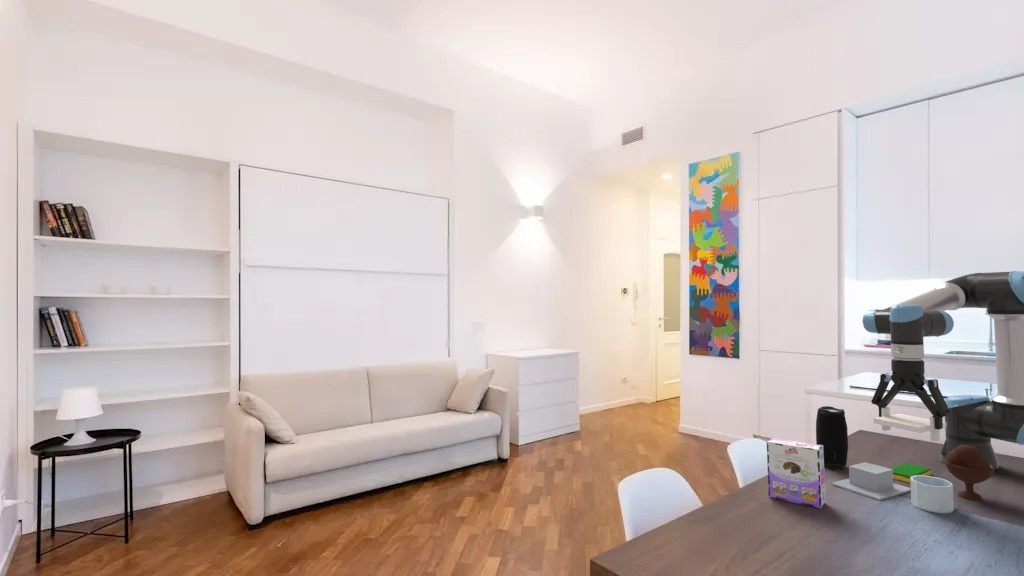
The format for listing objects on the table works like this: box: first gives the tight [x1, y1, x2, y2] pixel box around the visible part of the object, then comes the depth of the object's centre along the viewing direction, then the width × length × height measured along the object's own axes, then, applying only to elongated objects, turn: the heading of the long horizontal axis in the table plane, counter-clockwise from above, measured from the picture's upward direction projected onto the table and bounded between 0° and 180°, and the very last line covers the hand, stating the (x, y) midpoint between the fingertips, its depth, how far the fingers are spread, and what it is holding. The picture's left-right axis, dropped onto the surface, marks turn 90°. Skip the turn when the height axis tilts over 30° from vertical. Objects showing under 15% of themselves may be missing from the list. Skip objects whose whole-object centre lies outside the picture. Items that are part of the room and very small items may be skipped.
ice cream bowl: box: [943, 445, 996, 501], centre depth 150 cm, size 11×11×15 cm
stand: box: [831, 461, 911, 502], centre depth 158 cm, size 16×14×6 cm
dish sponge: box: [890, 462, 932, 484], centre depth 168 cm, size 7×14×2 cm, turn 121°
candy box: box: [766, 437, 826, 509], centre depth 150 cm, size 14×6×16 cm, turn 47°
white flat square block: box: [873, 413, 946, 434], centre depth 149 cm, size 12×12×2 cm
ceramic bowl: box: [910, 475, 955, 514], centre depth 144 cm, size 9×9×7 cm
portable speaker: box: [815, 405, 849, 470], centre depth 179 cm, size 9×9×20 cm
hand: (909, 435), depth 148 cm, fingers closed on white flat square block, 12 cm apart
